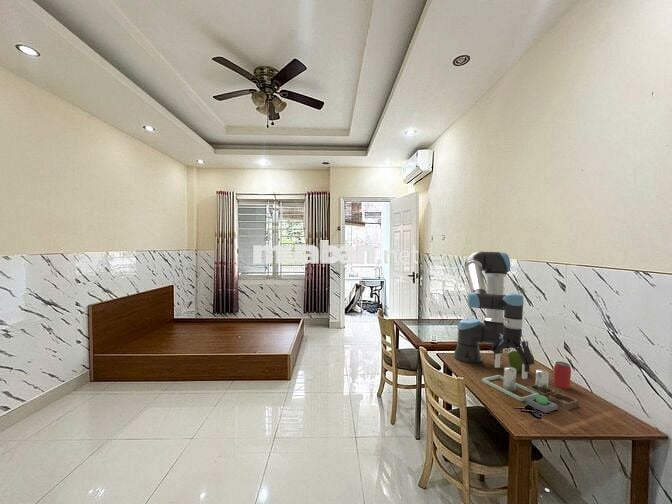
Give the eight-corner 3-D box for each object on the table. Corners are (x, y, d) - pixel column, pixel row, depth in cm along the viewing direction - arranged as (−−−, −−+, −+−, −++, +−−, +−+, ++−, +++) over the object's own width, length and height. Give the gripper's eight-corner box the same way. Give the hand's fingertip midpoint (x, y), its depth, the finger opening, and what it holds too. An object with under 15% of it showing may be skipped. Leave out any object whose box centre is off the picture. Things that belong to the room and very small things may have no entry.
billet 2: (532, 391, 143) (533, 370, 142) (539, 389, 145) (540, 368, 144) (543, 396, 138) (544, 374, 138) (550, 394, 140) (551, 372, 140)
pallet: (524, 393, 143) (524, 386, 143) (538, 389, 147) (538, 382, 147) (566, 413, 127) (567, 405, 127) (580, 408, 131) (581, 401, 131)
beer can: (572, 392, 146) (574, 366, 146) (557, 390, 148) (558, 365, 147) (565, 385, 153) (566, 361, 152) (550, 384, 154) (551, 360, 154)
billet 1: (500, 388, 146) (501, 367, 146) (507, 386, 148) (508, 365, 148) (510, 393, 142) (511, 371, 141) (517, 391, 144) (518, 369, 143)
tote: (481, 383, 152) (481, 378, 152) (498, 379, 157) (499, 374, 157) (521, 404, 133) (521, 398, 133) (539, 399, 138) (540, 393, 138)
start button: (533, 402, 130) (534, 395, 130) (539, 401, 132) (540, 394, 132) (543, 407, 127) (543, 400, 127) (549, 405, 128) (549, 398, 128)
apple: (529, 374, 165) (530, 353, 165) (517, 375, 163) (518, 354, 162) (515, 368, 173) (517, 347, 173) (503, 369, 171) (504, 348, 171)
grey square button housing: (525, 405, 131) (526, 399, 131) (537, 402, 135) (538, 395, 135) (545, 415, 124) (545, 408, 124) (557, 411, 128) (557, 404, 127)
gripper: (484, 321, 154) (482, 363, 154) (534, 335, 131) (531, 384, 131) (494, 320, 157) (492, 362, 157) (545, 333, 134) (542, 382, 134)
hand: (510, 372), depth 144 cm, fingers open, 13 cm apart
